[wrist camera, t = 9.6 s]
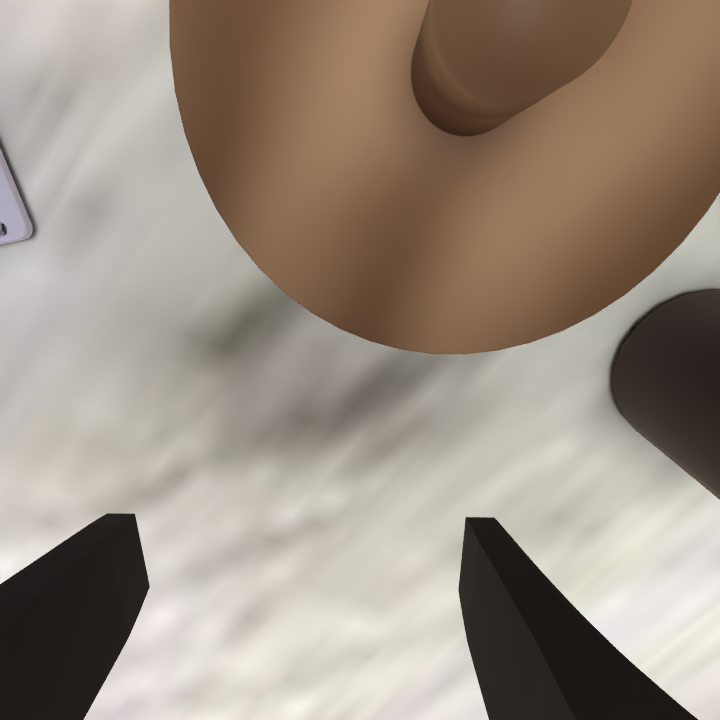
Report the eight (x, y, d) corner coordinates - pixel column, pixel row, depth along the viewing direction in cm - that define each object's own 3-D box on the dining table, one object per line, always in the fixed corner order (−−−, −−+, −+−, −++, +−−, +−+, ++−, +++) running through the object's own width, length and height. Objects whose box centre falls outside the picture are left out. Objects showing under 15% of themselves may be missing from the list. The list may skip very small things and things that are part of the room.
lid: (166, 295, 14) (51, 345, 9) (207, -431, 9) (-3, -1270, 4) (619, 385, 14) (753, 479, 9) (888, -232, 10) (1460, -711, 5)
